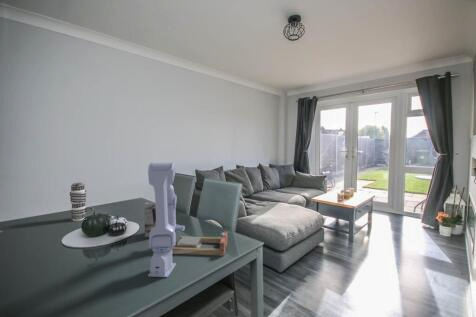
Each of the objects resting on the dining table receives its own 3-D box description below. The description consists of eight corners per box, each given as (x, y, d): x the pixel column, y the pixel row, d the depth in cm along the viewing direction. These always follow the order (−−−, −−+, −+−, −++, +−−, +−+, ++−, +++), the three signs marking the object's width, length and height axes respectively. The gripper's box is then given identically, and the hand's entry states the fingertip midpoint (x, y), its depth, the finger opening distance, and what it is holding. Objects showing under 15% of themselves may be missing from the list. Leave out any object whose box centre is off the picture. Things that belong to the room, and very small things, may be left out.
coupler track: (223, 256, 101) (223, 243, 101) (170, 253, 103) (170, 241, 103) (227, 242, 116) (227, 231, 115) (181, 240, 118) (180, 229, 117)
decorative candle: (72, 217, 154) (71, 182, 152) (88, 216, 158) (87, 181, 156) (69, 222, 146) (67, 184, 144) (85, 220, 149) (84, 183, 148)
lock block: (196, 252, 105) (196, 244, 105) (177, 251, 107) (176, 243, 106) (201, 244, 113) (201, 237, 113) (183, 243, 115) (183, 236, 114)
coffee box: (155, 238, 121) (154, 209, 120) (144, 237, 122) (143, 208, 121) (163, 231, 130) (163, 204, 129) (153, 230, 131) (153, 204, 130)
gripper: (186, 215, 113) (186, 240, 114) (159, 214, 114) (159, 239, 115) (181, 219, 106) (182, 247, 107) (153, 219, 107) (153, 246, 108)
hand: (170, 243), depth 111 cm, fingers closed
